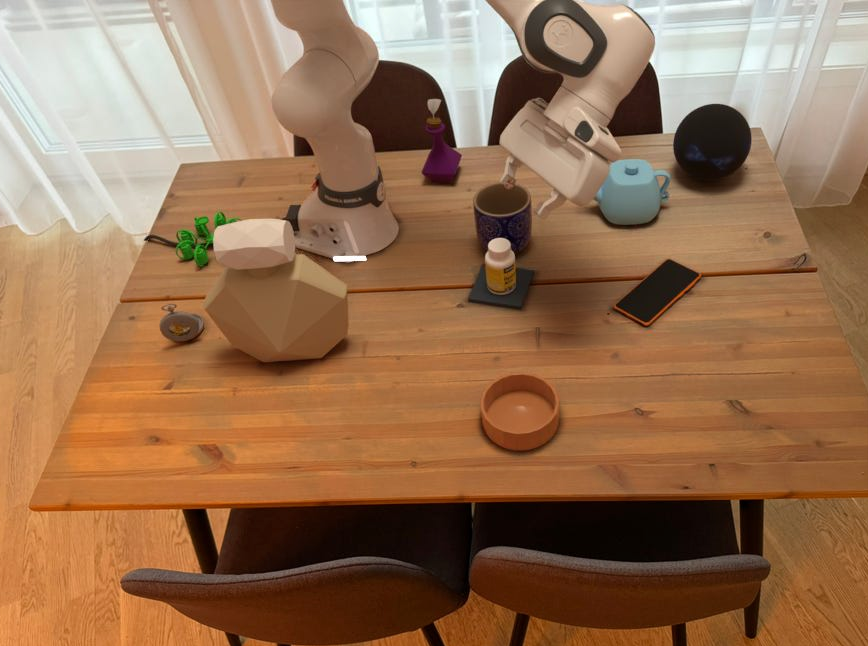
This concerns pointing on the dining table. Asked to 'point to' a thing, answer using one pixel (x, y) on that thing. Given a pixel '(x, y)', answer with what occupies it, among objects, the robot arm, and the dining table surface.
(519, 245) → the planter
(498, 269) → the supplement bottle
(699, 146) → the decorative sphere
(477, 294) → the mat
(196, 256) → the chandelier
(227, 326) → the faceted beige jar
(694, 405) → the dining table surface
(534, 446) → the round wooden tray
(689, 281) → the smartphone
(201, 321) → the pocket watch
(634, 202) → the teapot
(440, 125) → the perfume bottle
